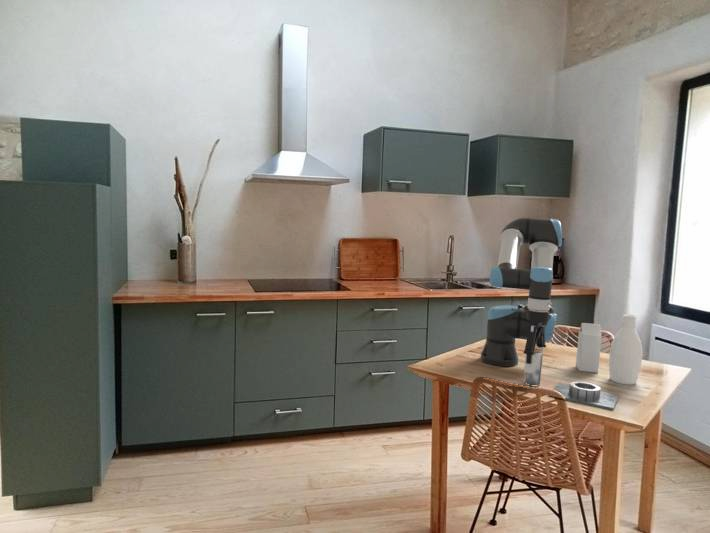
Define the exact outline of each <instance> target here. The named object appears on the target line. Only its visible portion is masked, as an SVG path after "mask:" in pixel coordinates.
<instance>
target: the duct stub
mask: <svg viewBox="0 0 710 533" xmlns="http://www.w3.org/2000/svg"><path fill="white" fill-rule="evenodd" d="M542 356H544V353H543V354H542V350H539V349H535V350H534V364H533V373H528V372H525V376H524V378H525V379H524V384H525V383H527V384H529V385H537V386H536V387H539V386H540V385H541V379H542V378H541V376H542V366H543V359H542ZM529 385H528V386H529ZM538 385H539V386H538Z"/></svg>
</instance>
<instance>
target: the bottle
mask: <svg viewBox="0 0 710 533" xmlns="http://www.w3.org/2000/svg"><path fill="white" fill-rule="evenodd" d="M622 317H623V318H622V324H621V328H620V329H619V330H618V331H617V332H616V334H615V335H614V338H613V340H612V341H611V345H610V349H609V358H608V362H609V363H608V366H609V367H608V369H609V378H610V380H611V382H614V383H618V384H621V385H625V386H627V385H628V386H629V385H631V386H633V385H636V384H637V383H638V379H639V375H640V372H641V368H642V360H643V346H642V345H643V344H642V342H641V337H640V336H639V334H638V332H637V329H636V324H637V322H636V321H637V318H638V317H637V316H636V315H634V314H629V313H625V314H623V315H622Z"/></svg>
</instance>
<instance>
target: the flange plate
mask: <svg viewBox="0 0 710 533" xmlns="http://www.w3.org/2000/svg"><path fill="white" fill-rule="evenodd" d="M601 389H602V388H601V387H600V386H599V385H597V384H594V383H591V382H587V381H577V380H575V381H571V382H570V383H569V384H568V383H562V382H557V383H556V385H555V386H554V388H553V389H552V390H556V391H558V392H560V393H561V394H562V395H563V396H564V397H565V399H566V400H565V401H569V402H574V403H577V404H582V405H588V406H590V407H591V406H593V407H596V408H601V409H606V410H609V411H614V410H615V407H616V405H617V403H618V401H619V398H620V394H617V393H612V392H608V391H607V392H606V391H602V390H601Z"/></svg>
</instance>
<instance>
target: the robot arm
mask: <svg viewBox="0 0 710 533" xmlns="http://www.w3.org/2000/svg"><path fill="white" fill-rule="evenodd" d="M562 231H563V230H562V223H561V221H560V220H559V219H554V218H550V217H549V218H537V217H519V218H516V219H514V220H512V221H510V222H509V223H508V224H506V225H505V226H504V228H502V230H501V232H500V237H499V239H500V243H501V246H500V250H499V256H498V261H497V266H493V267H491V268H490V274H489V285H490V286H491V287H495V288H496V287H497V288H499V289H500V288H503V289H504V288H506V289H516V290H527V291H528V297H527V298H528V299H527V300H528V301H527V304H525V305H523V310H519V307H518V306H517V305H508V304H507V305H496V306H492V307H490V308H489V310H488V314H487V317H486V318H487V326H486V338H485V344H484V345H483V348H482V350H481V353H480V359H479V360H481V362H483V363H486V364H488V365H492V366H496V367H497V366H498V367H513V366H514V367H515V366H517V365H519V356H518V352H517V347H516V339H517V340H525V342H526V343H525V346H524V347H525V348H524V350H523V351H522V352H523V354H525V360H524V371H523V372H524V373H526V372H528V373H533V364H534V350H535V349H539V350H542V354H543V356H544V348H546V347H547V344H546V343H549V342H551V341H552V340H553V336H554V332H555V329H556V328H555V326H556V323H557V318H558V315H557V314H556V313H554V308H553V307H552V305H553V304H552V302H551V295H552V286H553V279H554V274H553V273H554V271H553V267H554V266H553V265H554V253H556V252H557V251H558V249H559V247H561V246H562V245H563V232H562ZM522 245H528V249H529V250H530V251H531V252H532V254H531V264H530V265H531V266H530V269H522V268H521V269H520V268H518V264H519V257H520V250H521V249H520V248H521V246H522ZM543 356H542V360H543Z"/></svg>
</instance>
